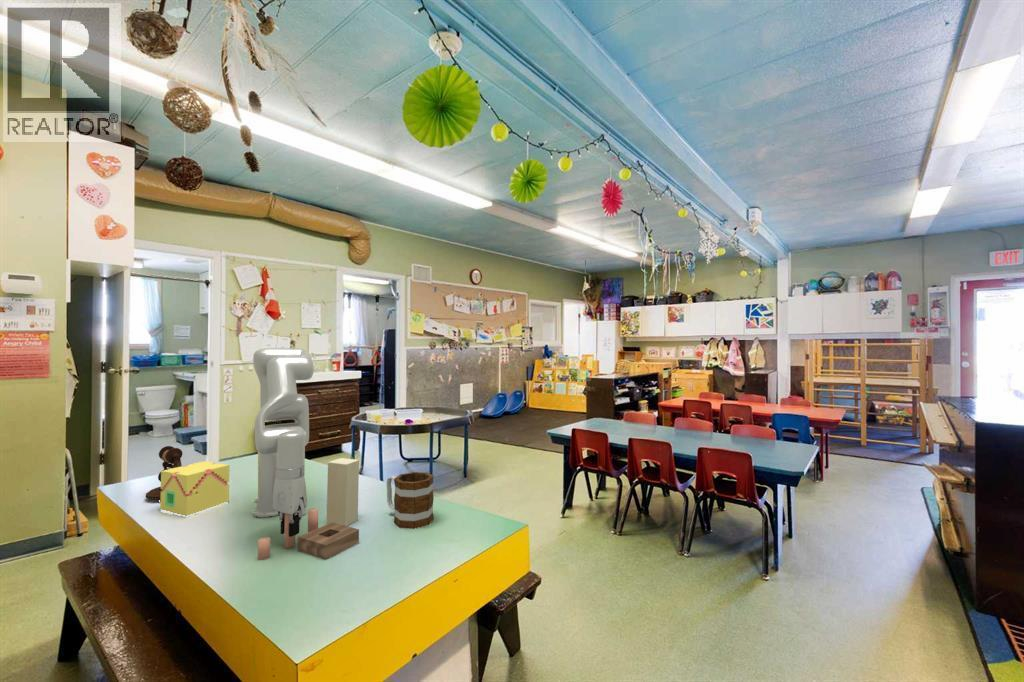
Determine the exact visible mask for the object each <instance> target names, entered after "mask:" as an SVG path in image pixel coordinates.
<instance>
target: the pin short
mask: <svg viewBox="0 0 1024 682" xmlns="http://www.w3.org/2000/svg"><path fill="white" fill-rule="evenodd" d="M270 557H271V537H269V536H267V537H266V536H265V537H261V538H259V539H258V541H257V560H258V561H262V560H267V559H269V558H270Z"/></svg>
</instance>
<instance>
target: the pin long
mask: <svg viewBox="0 0 1024 682" xmlns="http://www.w3.org/2000/svg"><path fill="white" fill-rule="evenodd" d="M295 515H297V513H296V514H294V517H295ZM289 523H290V514H286V513H285V526H284V534H283V536H284V537H283V539H284V540H283V541H284V542H283V548H285V549H290V548H293V546H294V547H295V546H296V536H297V534H296V535H294V536H292V537H289Z"/></svg>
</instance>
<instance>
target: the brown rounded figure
mask: <svg viewBox="0 0 1024 682" xmlns="http://www.w3.org/2000/svg"><path fill="white" fill-rule="evenodd" d="M158 457H159V458H160V459H161V460H162V461H163V462H161V464H162V465H161V467H162V468H163V470H168V469H172V468H177V467H183V465H182V457H183V450H182V449H180V448H179V447H174V446H171V445H166V446H163V447H162V448H161V449H160V450H159V452H158ZM163 470H161V471H163ZM161 471H160V472H159V473H158V476H157V478H158V481H159V482H160V483H161ZM161 491H162V489H161V486H158V487H154V488H152V489H151V490H150V489H149V491H147V492H146V493H145V499H146V500H157V501H158V500H161Z"/></svg>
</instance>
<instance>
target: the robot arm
mask: <svg viewBox="0 0 1024 682" xmlns="http://www.w3.org/2000/svg"><path fill="white" fill-rule="evenodd" d="M252 357H253V358H252V361H253V362H252V363H253V368H254V371H255V374H256V376H257V378H258V381H259V385H260V387H259V389H260V391H259V392H260V397H259V398H260V400H259V401H260V407H259V408H260V409H259V411H258V412H257V415H256V416H255V420H254V445H255V449H256V451H257V498H255V499H254V500H253V503H254V504H256V507H255V508H253V510H251V512H252V516H253V515H254V517H256V516H257V518H270V517H269V516H272V517H276V516H275V515H277V516H278V517H279V521H280V534H281V535H284V526H285V513H286V514H290V523H289V537H292V536H294V535H296V536H297V535H298V534H300V527H301V526H300V523H301V522H300V521H301V520H302V518H303V517H304V516H306V515H307V511H306V508H307V499H308V497H307V486H306V485H307V484H306V479H305V478H306V477H305V471H306V470H305V467H306V466H305V463H306V462H305V459H306V453H305V452H306V446H307V445H308V443H309V440H310V414H309V413H310V411H309V410H310V408H309V400H308V397H306V395H304V394H303V393H302V394H301V393H298V390H297V383H296V382H297V381H307V380H311V379H312V378H313V375H314V370H315V369H314V368H315V367H314V363H313V361H312V358H311V356H310V355H309V352H308V351H307V350H305V349H304V348H302V347H301V348H299V347H297V348H296V347H268V348H267V347H266V348H265V347H264V348H259V349H257V350H255V352H254V353H253V356H252ZM285 420H286V421H287V420H294V422H288V423H277V424H268V425H265V424H266V423H265V422H267V421H268V422H273V421H276V422H277V421H285ZM294 514H296V515H295V517H294Z"/></svg>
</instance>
